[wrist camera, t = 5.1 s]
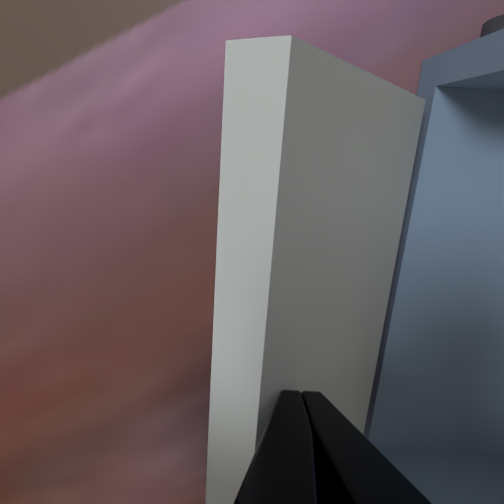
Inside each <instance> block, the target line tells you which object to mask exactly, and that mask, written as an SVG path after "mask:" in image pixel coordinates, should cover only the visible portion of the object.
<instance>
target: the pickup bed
mask: <svg viewBox="0 0 504 504" xmlns="http://www.w3.org/2000/svg"><path fill="white" fill-rule="evenodd" d="M417 96H419V97H421V98H423V99H425V100H426V101H425V106H424V112H423V117H422V122H421V128H420V133H419V138H418V144H417V149H416V155H415V160H414V165H413V171H412V176H411V181H410V187H409V192H408V197H407V203H406V208H405V214H404V219H403V224H402V230H401V235H400V240H399V246H398V251H397V256H396V262H395V267H394V273H393V278H392V283H391V289H390V294H389V299H388V305H387V310H386V315H385V321H384V326H383V331H382V337H381V342H380V348H379V353H378V358H377V364H376V369H375V374H374V380H373V385H372V390H371V396H370V401H369V407H368V412H367V417H366V423H365V428H364V433H363V435H364V436H365V437H366V438H367V439H368V440H369V441H370V442H371V443H372V444H373V445H374V446H375V447H376V448H377V449H378V450H379V451H380V452H381V453H382V454H383V455H384V456H385V457H386V458H387V459H388V460H389V461H390V462H391V463H392V464H393V465H394V466H395V467H396V468H397V469H398V470H399V471H400V472H401V473H402V474H403V475H404V476H405V477H406V478H407V479H408V480H409V481H410V482H411V483H412V484H413V485H414V486H415V487H416V488H417V489H418V490H419V491H420V492H421V493H422V494H423V495H424V496H425V497H426V498H427V499H428V500H429V501H430V502H431V503H432V504H504V15H501V16H497V17H495V18H492V19H490V20H488V21H487V22H485V23H484V24H483V26H482V31H481V36H480V38H478V39H476V40H473V41H471V42H468V43H466V44H463V45H461V46H458V47H456V48H453V49H451V50H448V51H446V52H443V53H441V54H438V55H436V56H433V57H431V58H428V59H426V60H423V62H422V68H421V73H420V79H419V85H418V90H417Z"/></svg>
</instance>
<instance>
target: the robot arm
mask: <svg viewBox="0 0 504 504" xmlns="http://www.w3.org/2000/svg"><path fill="white" fill-rule="evenodd" d="M234 504H432V503H431V502H430V501H429V500H428V499H427V498H426V497H425V496H424V495H423V494H422V493H421V492H420V491H419V490H418V489H417V488H416V487H415V486H414V485H413V484H412V483H411V482H410V481H409V480H408V479H407V478H406V477H405V476H404V475H403V474H402V473H401V472H400V471H399V470H398V469H397V468H396V467H395V466H394V465H393V464H392V463H391V462H390V461H389V460H388V459H387V458H386V457H385V456H384V455H383V454H382V453H381V452H380V451H379V450H378V449H377V448H376V447H375V446H374V445H373V444H372V443H371V442H370V441H369V440H368V439H367V438H366V437H365V436H364V435H363V434H362V433H361V432H360V431H359V430H358V429H357V428H356V427H355V426H354V425H353V424H352V423H351V422H350V421H349V420H348V419H347V418H346V417H345V416H344V415H343V414H342V413H341V412H340V411H339V410H338V409H337V408H336V407H335V406H334V405H333V404H332V403H331V402H330V401H329V400H328V399H327V398H326V397H325V396H324V395H323V394H322V393H321V392H318V391H302V392H300V391H298V390H282V391H281V392H280V394H279V397H278V399H277V402H276V404H275V406H274V409H273V411H272V413H271V416H270V418H269V420H268V423H267V425H266V428H265V430H264V432H263V435H262V437H261V439H260V442H259V444H258V446H257V449H256V451H255V453H254V456H253V458H252V461H251V463H250V465H249V468H248V470H247V472H246V475H245V477H244V479H243V482H242V484H241V487H240V489H239V491H238V494H237V496H236V498H235V501H234Z"/></svg>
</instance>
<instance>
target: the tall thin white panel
mask: <svg viewBox="0 0 504 504" xmlns="http://www.w3.org/2000/svg"><path fill="white" fill-rule="evenodd" d="M425 101H426V100H425V99H423V98H421V97H419V96H417V95H414V94H412V93H410V92H408V91H406V90H404V89H402V88H400V87H398V86H396V85H394V84H392V83H390V82H388V81H385V80H383V79H381V78H379V77H377V76H375V75H373V74H371V73H369V72H367V71H365V70H363V69H361V68H358V67H356V66H354V65H352V64H350V63H348V62H346V61H344V60H342V59H340V58H338V57H336V56H334V55H331V54H329V53H327V52H325V51H323V50H321V49H319V48H317V47H315V46H313V45H311V44H309V43H307V42H305V41H302V40H300V39H298V38H296V37H294V36H292V35H288V36H276V37H263V38H250V39H237V40H226V52H225V75H224V97H223V119H222V141H221V164H220V186H219V208H218V231H217V253H216V275H215V297H214V320H213V342H212V364H211V387H210V409H209V431H208V454H207V476H206V498H205V504H234V501H235V498H236V496H237V494H238V491H239V489H240V487H241V484H242V482H243V479H244V477H245V475H246V472H247V470H248V468H249V465H250V463H251V461H252V458H253V456H254V453H255V451H256V449H257V446H258V444H259V442H260V439H261V437H262V435H263V432H264V430H265V428H266V425H267V423H268V420H269V418H270V416H271V413H272V411H273V409H274V406H275V404H276V402H277V399H278V397H279V394H280V392H281V391H282V390H298V391H300V392H302V391H318V392H321V393H322V394H323V395H324V396H325V397H326V398H327V399H328V400H329V401H330V402H331V403H332V404H333V405H334V406H335V407H336V408H337V409H338V410H339V411H340V412H341V413H342V414H343V415H344V416H345V417H346V418H347V419H348V420H349V421H350V422H351V423H352V424H353V425H354V426H355V427H356V428H357V429H358V430H359V431H360V432H361V433H362V434H363V433H364V428H365V423H366V417H367V412H368V407H369V401H370V396H371V390H372V385H373V380H374V374H375V369H376V364H377V358H378V353H379V348H380V342H381V337H382V331H383V326H384V321H385V315H386V310H387V305H388V299H389V294H390V289H391V283H392V278H393V273H394V267H395V262H396V256H397V251H398V246H399V240H400V235H401V230H402V224H403V219H404V214H405V208H406V203H407V197H408V192H409V187H410V181H411V176H412V171H413V165H414V160H415V155H416V149H417V144H418V138H419V133H420V128H421V122H422V117H423V112H424V106H425Z"/></svg>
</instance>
